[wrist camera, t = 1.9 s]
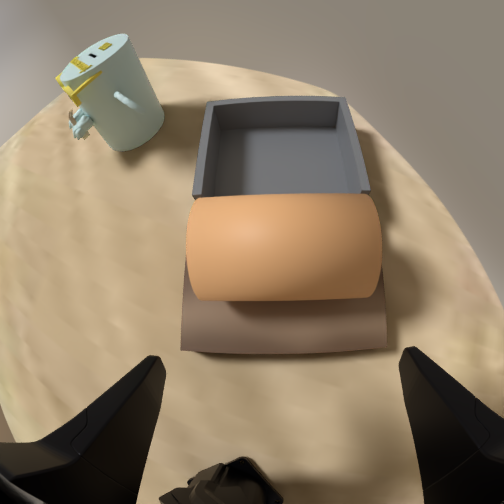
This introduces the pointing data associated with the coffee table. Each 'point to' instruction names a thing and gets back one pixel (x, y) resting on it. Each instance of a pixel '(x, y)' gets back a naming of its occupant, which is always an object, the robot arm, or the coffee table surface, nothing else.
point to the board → (283, 324)
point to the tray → (279, 148)
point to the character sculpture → (112, 94)
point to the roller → (284, 247)
